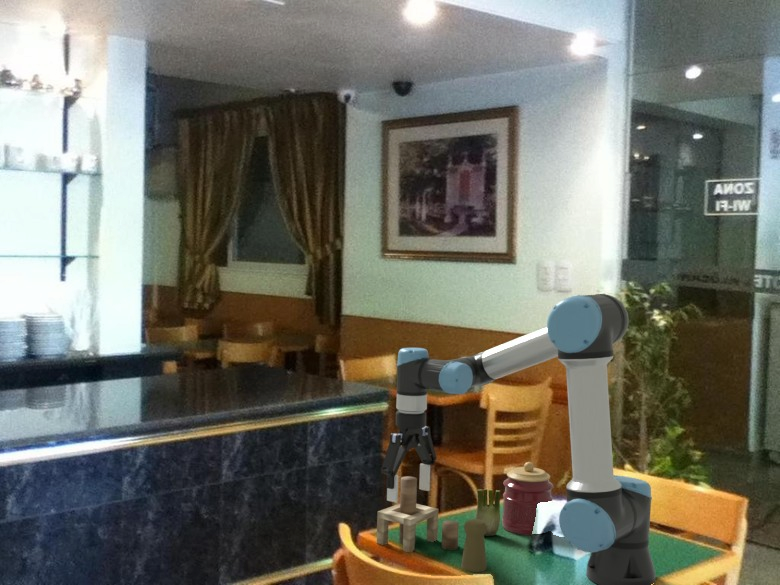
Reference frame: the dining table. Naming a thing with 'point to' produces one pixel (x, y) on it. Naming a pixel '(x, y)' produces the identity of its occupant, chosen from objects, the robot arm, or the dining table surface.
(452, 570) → the dining table surface
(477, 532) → the olive tapered knobbed peg
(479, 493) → the fennel bulb
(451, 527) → the short pin
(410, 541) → the open square stand
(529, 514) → the canister
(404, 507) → the long pin
